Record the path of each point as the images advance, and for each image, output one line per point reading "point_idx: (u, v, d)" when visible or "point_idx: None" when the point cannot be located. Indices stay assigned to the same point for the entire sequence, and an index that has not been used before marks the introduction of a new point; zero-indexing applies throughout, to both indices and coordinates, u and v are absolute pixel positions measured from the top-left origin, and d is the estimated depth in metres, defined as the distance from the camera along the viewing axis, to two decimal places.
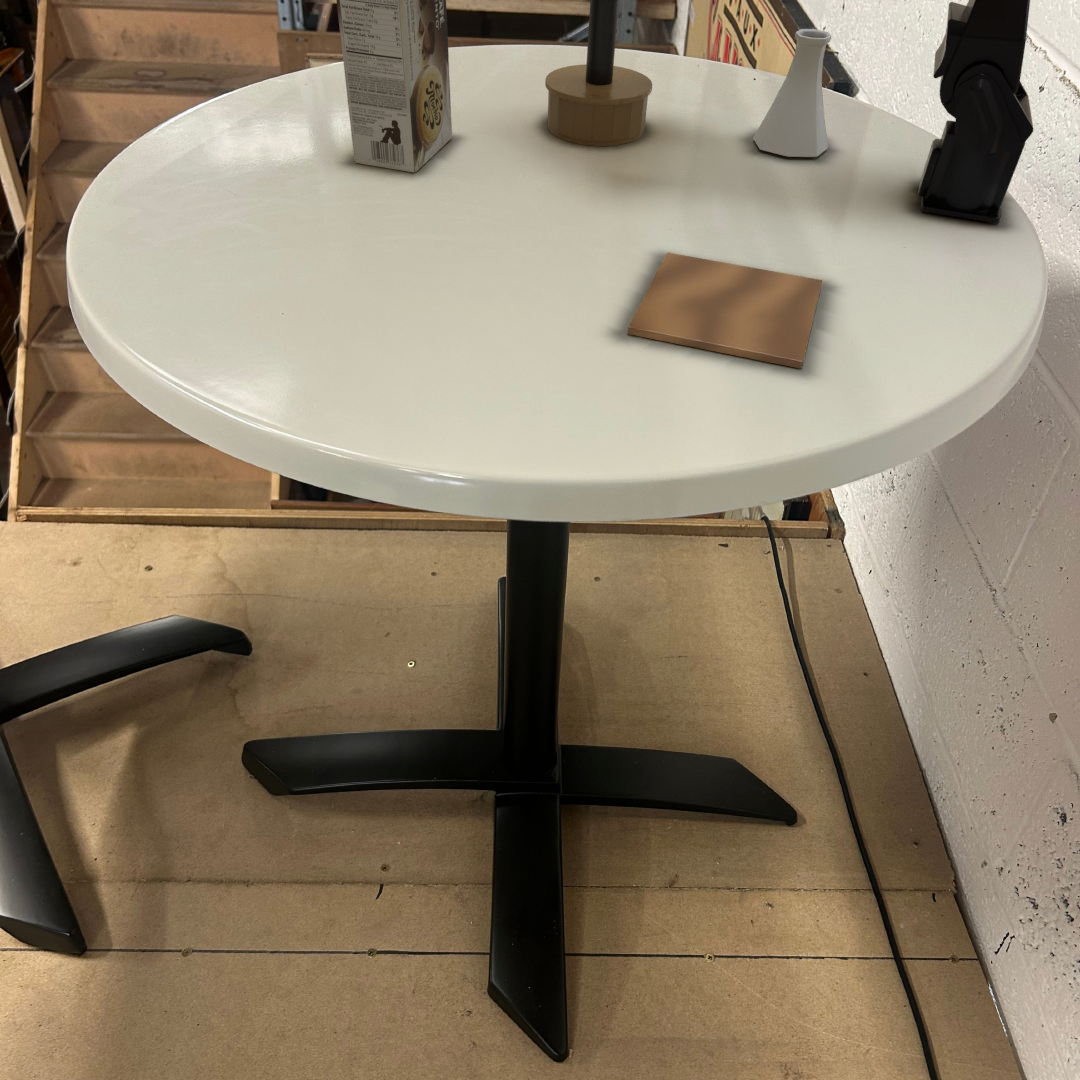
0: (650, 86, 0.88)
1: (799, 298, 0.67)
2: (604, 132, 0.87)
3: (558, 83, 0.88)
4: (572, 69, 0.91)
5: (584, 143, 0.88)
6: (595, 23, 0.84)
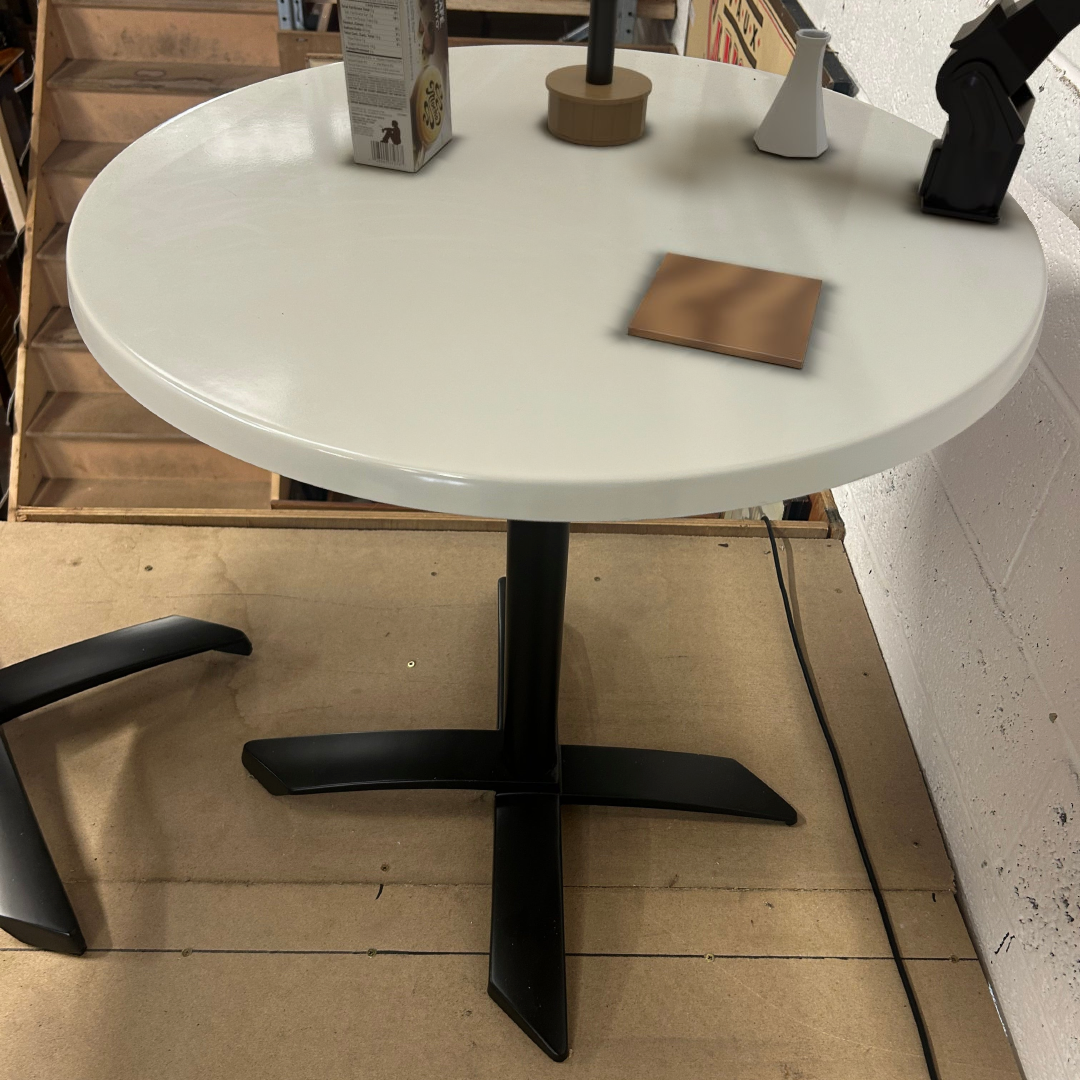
0: (650, 86, 0.88)
1: (799, 298, 0.67)
2: (604, 132, 0.87)
3: (558, 83, 0.88)
4: (572, 69, 0.91)
5: (584, 143, 0.88)
6: (595, 23, 0.84)
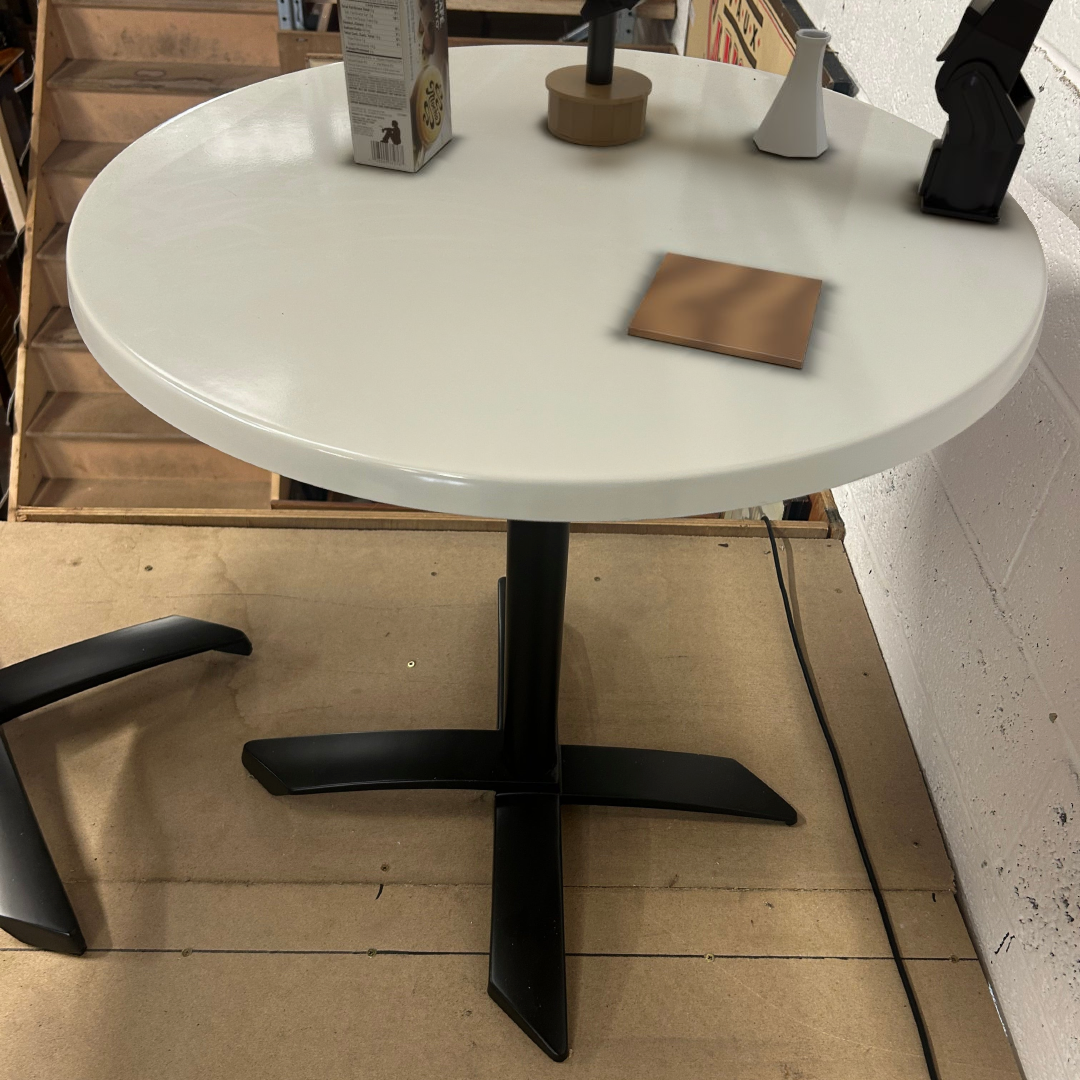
0: (650, 86, 0.88)
1: (799, 298, 0.67)
2: (604, 132, 0.87)
3: (558, 83, 0.88)
4: (572, 69, 0.91)
5: (584, 143, 0.88)
6: (595, 23, 0.84)
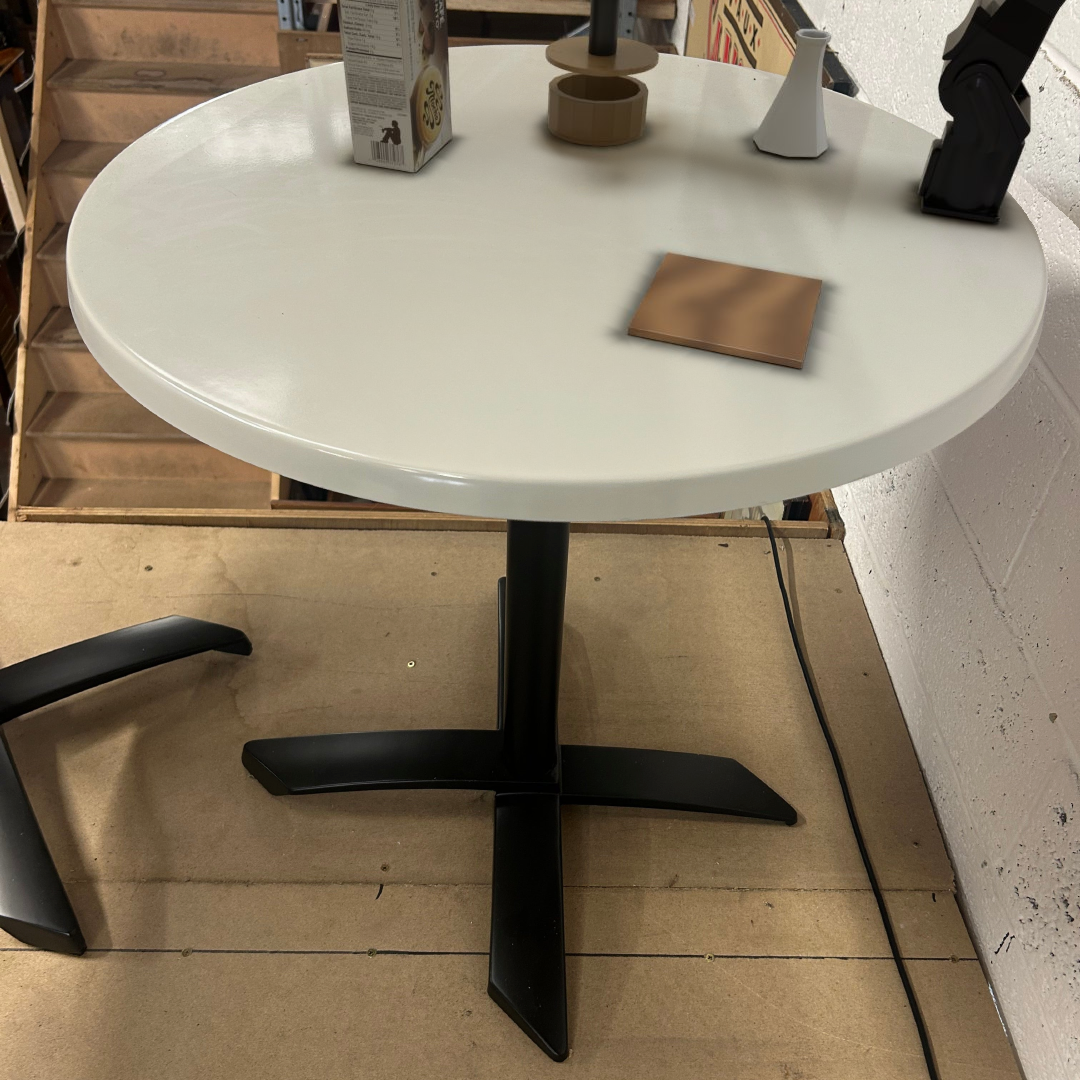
0: (657, 55, 0.83)
1: (799, 298, 0.67)
2: (604, 132, 0.87)
3: (560, 55, 0.83)
4: (571, 41, 0.86)
5: (584, 143, 0.88)
6: None
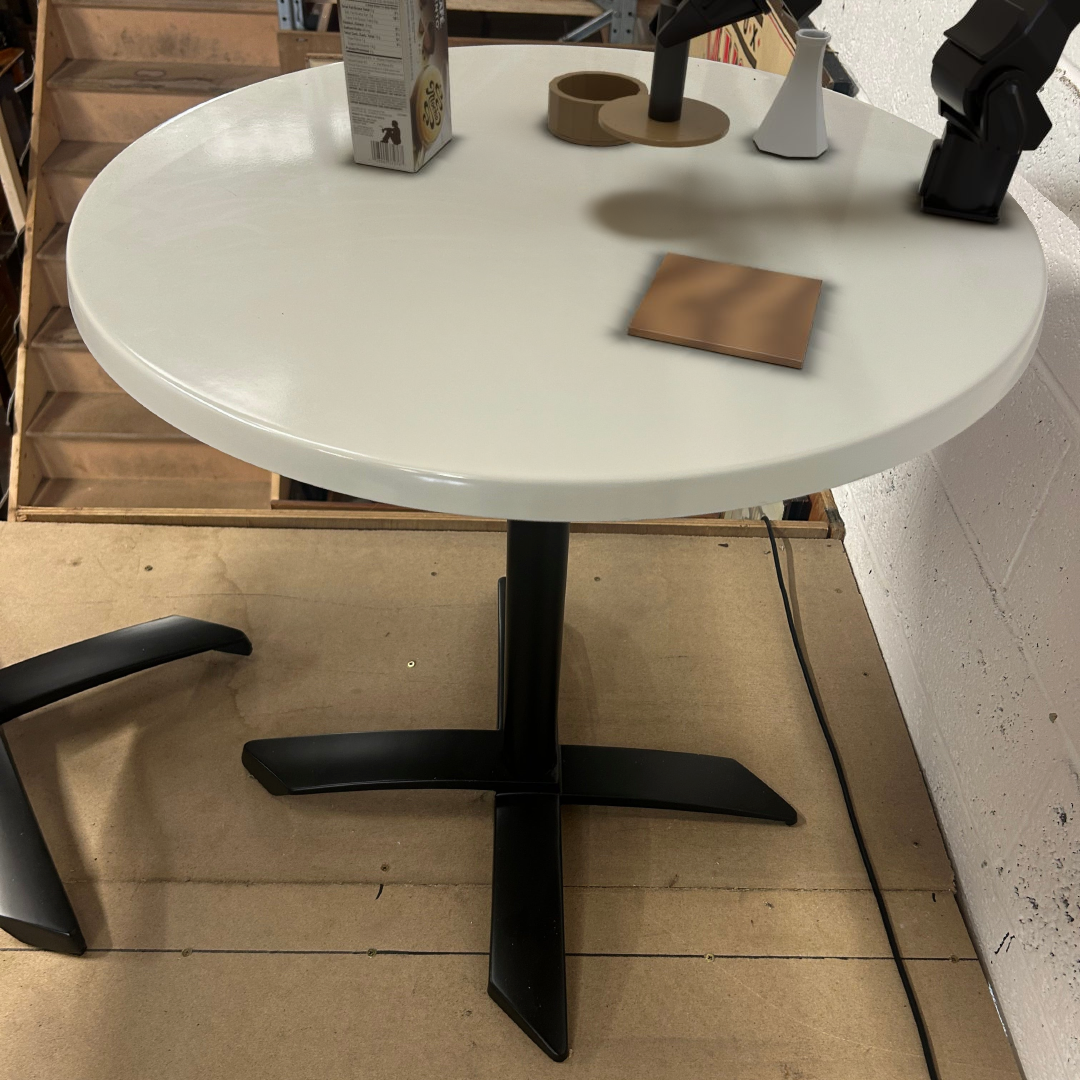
0: (719, 110, 0.74)
1: (799, 298, 0.67)
2: (604, 132, 0.87)
3: (633, 129, 0.70)
4: (613, 109, 0.73)
5: (584, 143, 0.88)
6: (674, 48, 0.68)
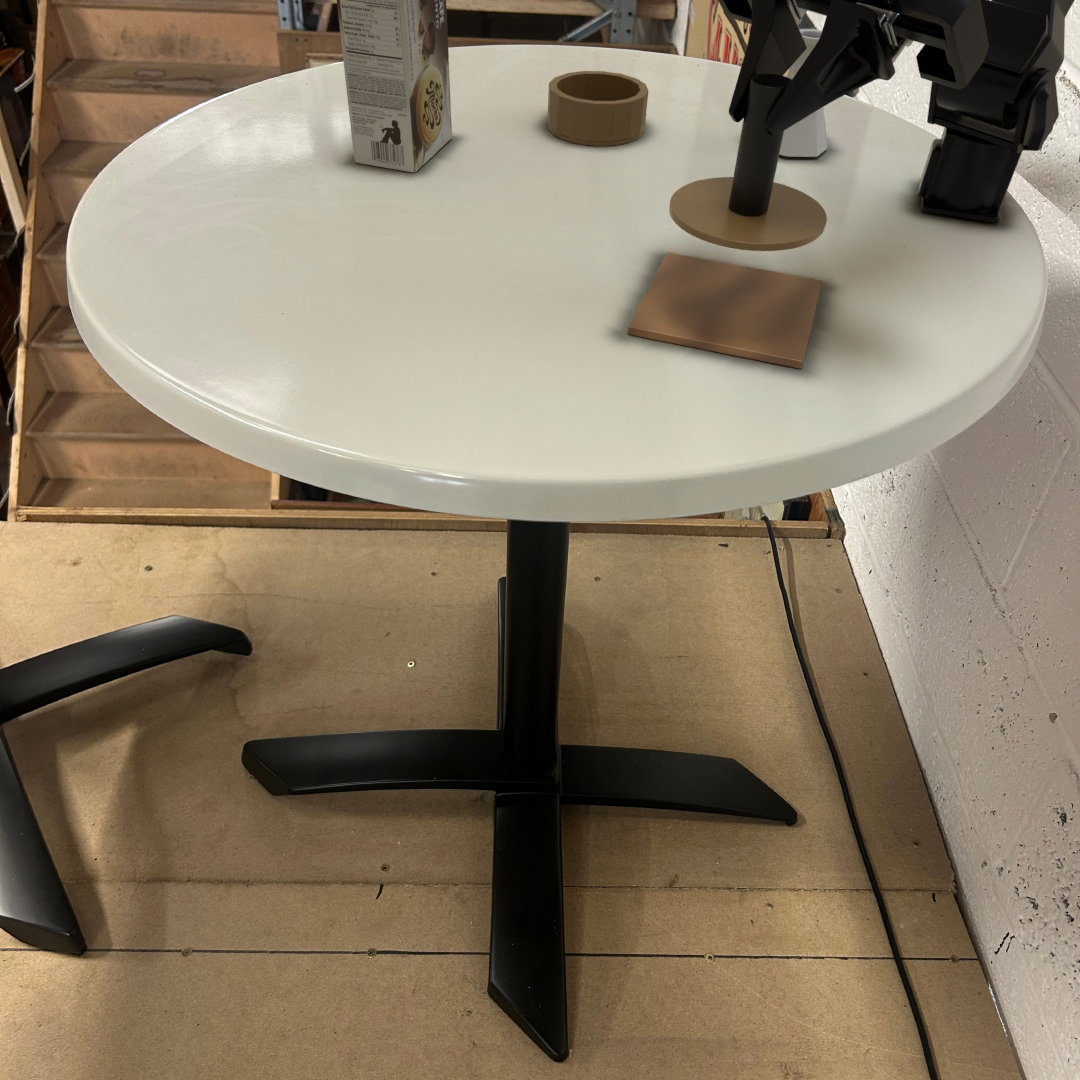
0: (781, 184, 0.64)
1: (799, 298, 0.67)
2: (604, 132, 0.87)
3: (748, 235, 0.58)
4: (689, 212, 0.60)
5: (584, 143, 0.88)
6: None
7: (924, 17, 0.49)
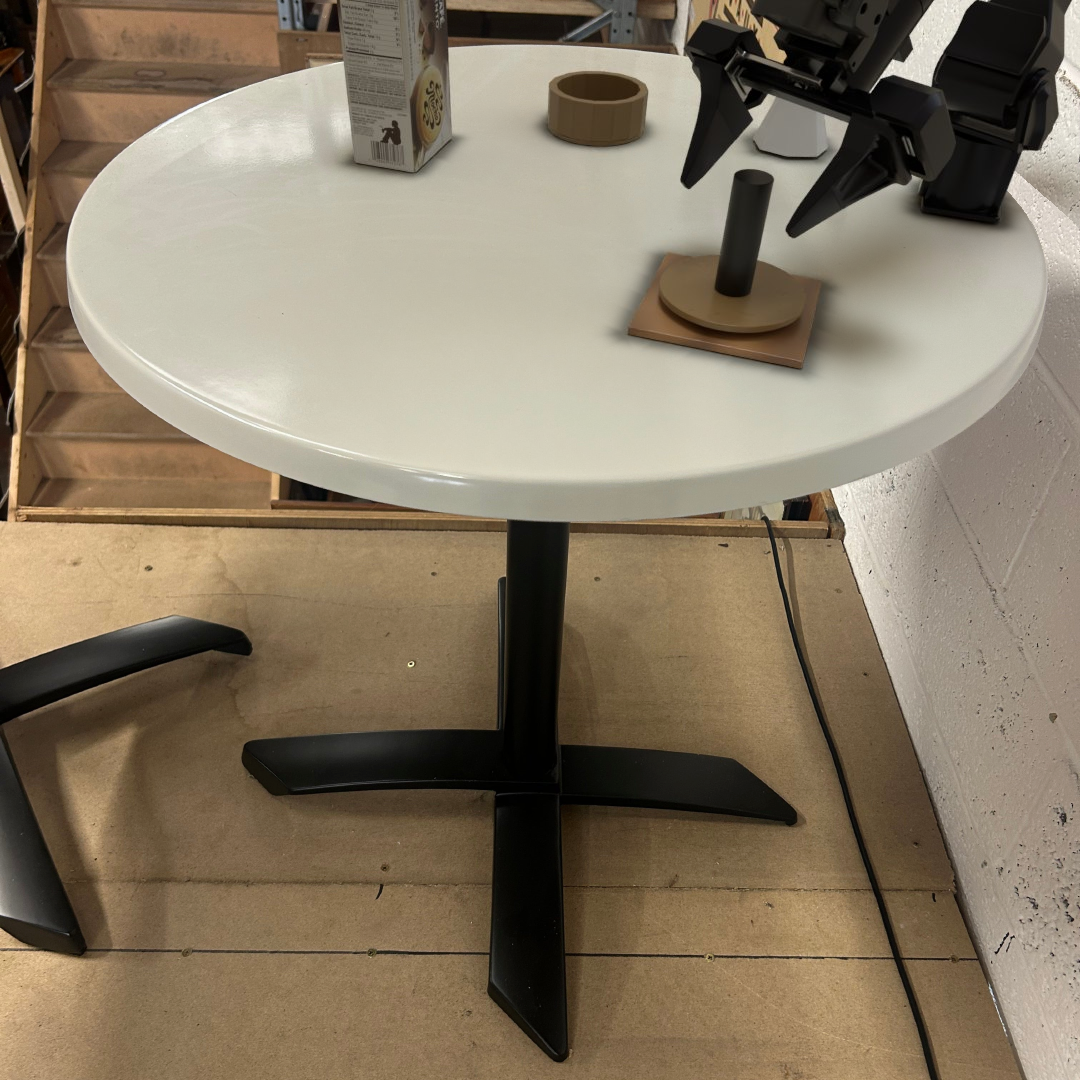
0: (764, 262, 0.68)
1: None
2: (604, 132, 0.87)
3: (732, 317, 0.62)
4: (677, 293, 0.64)
5: (584, 143, 0.88)
6: (759, 224, 0.61)
7: (894, 121, 0.53)
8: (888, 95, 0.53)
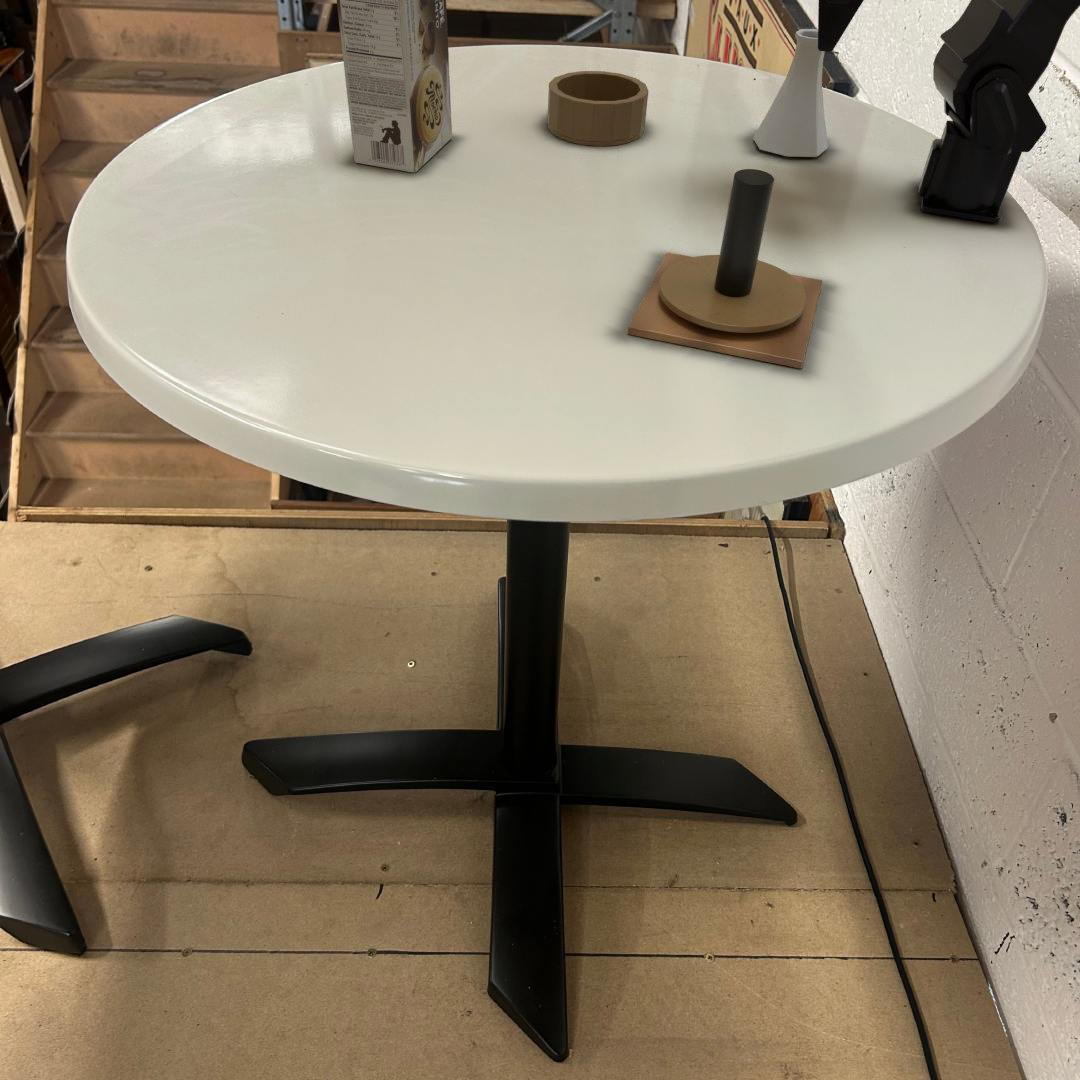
0: (764, 262, 0.68)
1: None
2: (604, 132, 0.87)
3: (732, 317, 0.62)
4: (677, 293, 0.64)
5: (584, 143, 0.88)
6: (759, 224, 0.61)
7: None
8: None
